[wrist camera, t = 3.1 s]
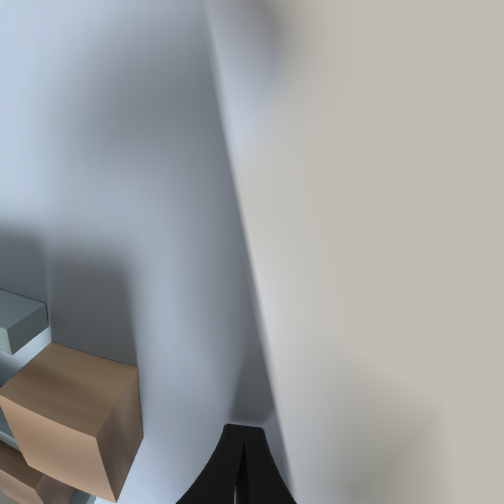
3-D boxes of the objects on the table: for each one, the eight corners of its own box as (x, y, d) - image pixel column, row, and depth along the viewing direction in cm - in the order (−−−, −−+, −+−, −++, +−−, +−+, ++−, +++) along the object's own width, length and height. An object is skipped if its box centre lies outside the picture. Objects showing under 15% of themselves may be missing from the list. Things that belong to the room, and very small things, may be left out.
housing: (96, 497, 13) (84, 524, 11) (24, 463, 13) (9, 485, 11) (45, 303, 10) (6, 329, 8) (-37, 275, 10) (-72, 291, 7)
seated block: (81, 478, 13) (58, 523, 9) (31, 455, 13) (4, 493, 9) (66, 439, 12) (34, 489, 8) (12, 413, 12) (-23, 453, 8)
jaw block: (144, 435, 11) (116, 502, 7) (67, 411, 11) (28, 465, 7) (138, 365, 11) (95, 437, 7) (52, 340, 10) (-5, 392, 7)
